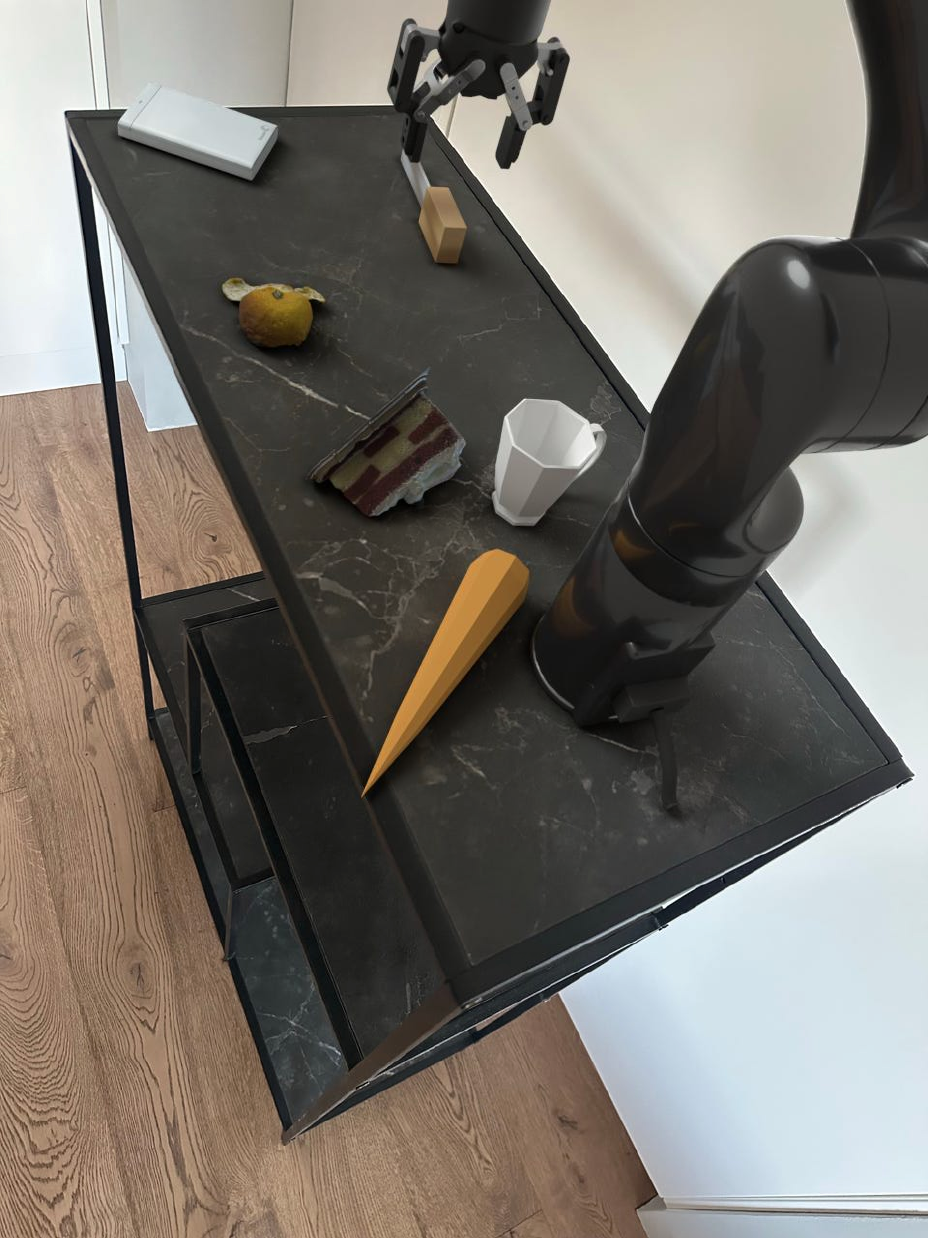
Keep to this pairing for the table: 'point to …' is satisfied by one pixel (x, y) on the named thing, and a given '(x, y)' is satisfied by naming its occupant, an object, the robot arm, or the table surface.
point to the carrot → (457, 645)
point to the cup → (541, 458)
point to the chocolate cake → (395, 453)
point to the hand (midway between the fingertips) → (457, 160)
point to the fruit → (273, 311)
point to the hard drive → (198, 130)
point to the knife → (436, 215)
